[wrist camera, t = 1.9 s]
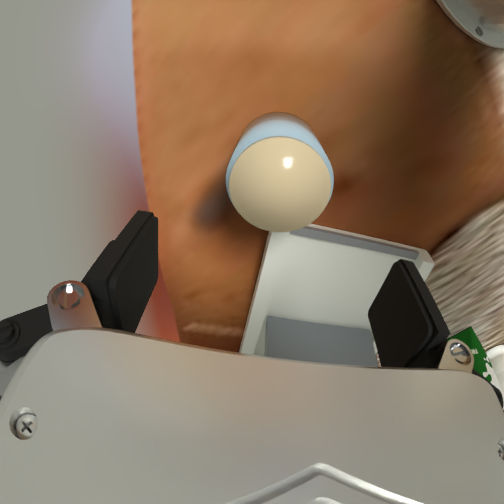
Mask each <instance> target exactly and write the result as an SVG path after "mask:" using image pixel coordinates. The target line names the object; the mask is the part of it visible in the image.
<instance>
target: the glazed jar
mask: <svg viewBox="0 0 504 504" xmlns="http://www.w3.org/2000/svg"><path fill="white" fill-rule="evenodd" d="M333 185H334V175H333V170H332V167H331V164H330V161H329V159H328V157H327V155H326V154H325V152H324V150H323V148H322V146H321V145H320V143H319V141H318V139H317V138H316V136H315V134H314V132H313V131H312V129H311V128H310V126H309V125H308V124H307V123H306V122H304V121H303V120H302V119H300V118H299V117H297V116H295V115H292V114H289V113H284V112H272V113H267V114H264V115H261V116H259V117H257V118H256V119H254V120H253V121H252V122H251V123H250V124H249V125H248V126H247V127H246V128H245V130H244V131H243V133H242V135H241V137H240V140H239V142H238V144H237V146H236V149H235V151H234V153H233V155H232V158H231V160H230V162H229V165H228V168H227V172H226V188H227V192H228V195H229V198H230V200H231V202H232V204H233V205H234V207H235V208H236V210H237V211H238V213H239V214H240V215H241V216H242V217H243V218H244V219H245V220H246V221H247V222H249V223H250V224H252V225H254V226H256V227H258V228H260V229H263V230H266V231H271V232H290V231H295V230H298V229H301V228H303V227H305V226H307V225H309V224H310V223H312V222H313V221H314V220H315V219H317V218H318V216H319V215H320V214H321V213H322V212H323V210H324V209H325V207H326V205H327V204H328V202H329V200H330V197H331V195H332V191H333Z"/></svg>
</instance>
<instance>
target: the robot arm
mask: <svg viewBox="0 0 504 504" xmlns="http://www.w3.org/2000/svg"><path fill="white" fill-rule="evenodd" d="M436 1H437V3H438V4H439V6H440V7H441V8H442V10H443V11H444V12H445V14H446V15H447V16H448V17H449V18H450V19H451V20H452V21H453V23H454V24H455V25H456V26H458V27H459V28H460V29H461V30H462V31H463V32H464V33H465V34H467V35H468V36H470V37H471V38H473V39H474V40H476V41H478V42H480V43H482V44H484V45H486V46H490V47H493V48H502V49H504V0H436ZM157 279H158V218H157V217H154V214H153V212H146V211H140V210H138V211H137V212H136V214H135V215H134V216H133V218H132V219H131V220H130V221H129V223H128V224H127V225H126V226H125V228H124V229H123V230H122V232H121V233H120V234H119V236H118V237H117V238H116V239H115V240H112V241H111V242H110V243H109V244H108V245H107V246H106V248H105V249H104V250H103V252H102V253H101V254H100V256H99V257H98V258H97V260H96V261H95V263H94V264H93V265H92V267H91V268H90V270H89V271H88V272H87V274H86V275H85V277H84V278H83V280H82V281H81V282H79V281H73V280H69V281H64V282H61V283H59V284H57V285H56V286H54V287H53V288H52V289H51V290H50V292H49V294H48V296H47V304H45V305H42V306H40V307H37V308H34V309H31V310H28V311H26V312H23V313H20V314H17V315H15V316H12V317H9V318H6V319H4V320H2V321H0V504H504V410H503V404H504V402H503V397H502V393H501V391H500V390H499V389H498V388H496V387H495V386H494V385H493V384H492V383H490V382H489V381H488V380H487V379H486V378H484V377H483V376H482V375H481V374H479V373H478V372H477V371H476V370H474V369H473V365H474V357H473V354H472V352H471V350H470V349H469V347H468V346H467V345H466V344H465V343H464V342H462V341H460V340H457V339H451V340H449V341H448V342H447V339H446V338H447V337H448V335H449V334H450V332H449V329H448V327H447V325H446V323H445V321H444V319H443V317H442V315H441V313H440V311H439V309H438V307H437V305H436V303H435V301H434V299H433V297H432V295H431V293H430V291H429V289H428V288H427V286H426V284H425V282H424V280H423V278H422V277H421V275H420V273H419V271H418V269H417V268H416V266H415V264H414V263H413V262H412V261H408V260H404V259H399V260H398V261H397V262H394V264H393V265H392V267H391V269H390V271H389V273H388V275H387V277H386V279H385V281H384V283H383V284H382V286H381V288H380V290H379V292H378V294H377V296H376V297H375V299H374V301H373V303H372V305H371V306H370V308H369V311H368V319H369V322H370V326H371V329H372V333H373V336H374V340H375V344H376V347H377V351H378V355H379V359H380V363H381V367H375V366H357V365H342V364H330V363H318V362H308V361H298V360H289V359H281V358H273V357H265V356H258V355H251V354H244V353H237V352H231V351H225V350H219V349H213V348H207V347H202V346H197V345H191V344H186V343H181V342H176V341H170V340H165V339H161V338H156V337H151V336H146V335H141V334H136V333H135V331H136V329H137V326H138V324H139V321H140V319H141V317H142V314H143V312H144V310H145V307H146V305H147V303H148V301H149V298H150V296H151V294H152V291H153V289H154V287H155V285H156V282H157Z"/></svg>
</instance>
